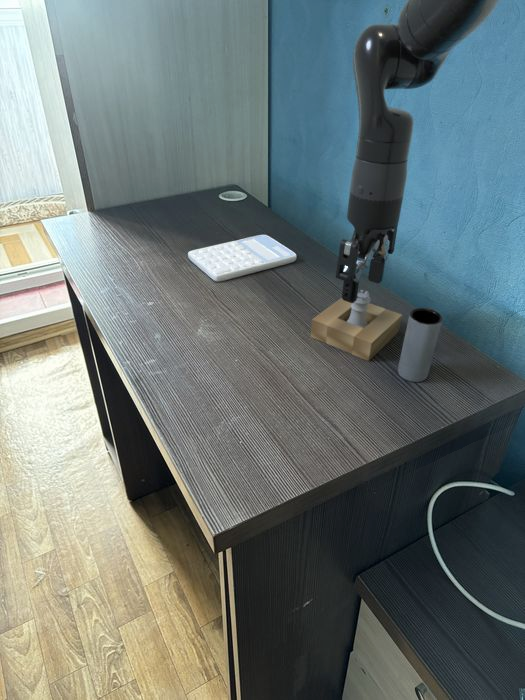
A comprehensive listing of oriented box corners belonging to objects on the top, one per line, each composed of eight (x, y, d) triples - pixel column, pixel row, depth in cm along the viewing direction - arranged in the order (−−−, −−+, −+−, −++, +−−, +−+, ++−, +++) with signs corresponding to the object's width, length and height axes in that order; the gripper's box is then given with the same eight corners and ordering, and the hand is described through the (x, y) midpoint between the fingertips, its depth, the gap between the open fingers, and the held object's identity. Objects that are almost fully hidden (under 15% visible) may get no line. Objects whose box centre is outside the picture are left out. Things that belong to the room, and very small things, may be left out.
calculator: (186, 258, 110) (185, 250, 109) (265, 239, 119) (265, 232, 118) (215, 283, 101) (215, 275, 100) (298, 261, 110) (299, 253, 109)
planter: (398, 380, 78) (410, 322, 72) (396, 362, 81) (408, 306, 75) (429, 384, 77) (444, 325, 71) (426, 366, 81) (440, 309, 75)
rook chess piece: (371, 331, 88) (378, 290, 84) (364, 345, 85) (371, 302, 81) (346, 325, 90) (352, 284, 85) (338, 338, 87) (343, 296, 82)
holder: (398, 332, 89) (402, 314, 87) (368, 361, 81) (371, 343, 79) (343, 311, 94) (345, 294, 92) (310, 336, 87) (312, 319, 85)
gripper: (377, 209, 67) (361, 316, 76) (422, 183, 76) (403, 282, 86) (327, 196, 71) (318, 300, 80) (376, 173, 80) (363, 269, 89)
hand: (362, 290), depth 83 cm, fingers open, 8 cm apart
